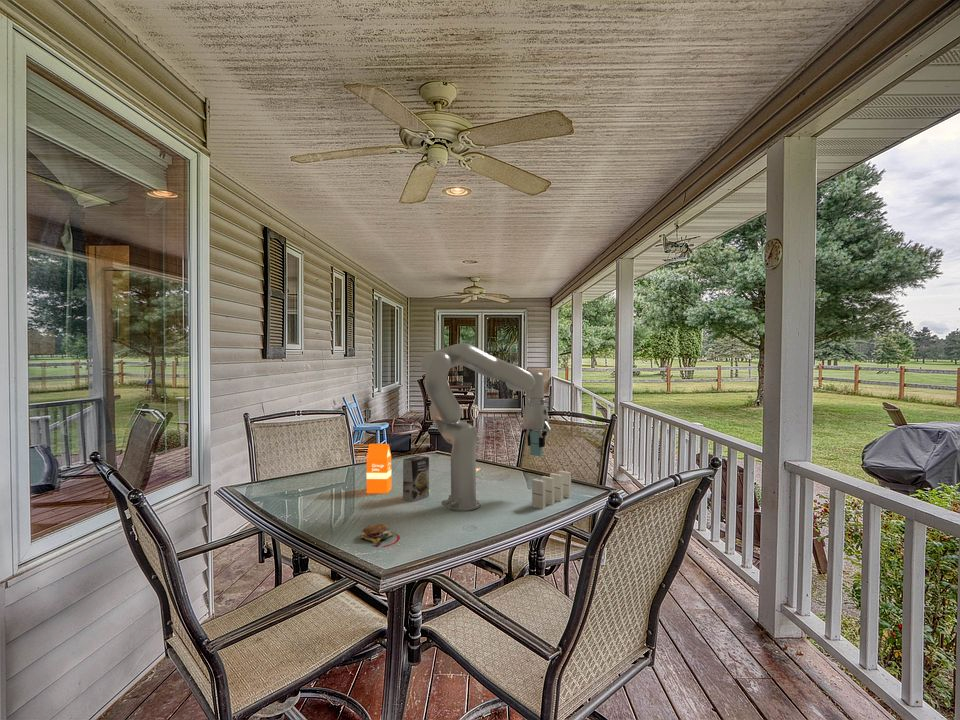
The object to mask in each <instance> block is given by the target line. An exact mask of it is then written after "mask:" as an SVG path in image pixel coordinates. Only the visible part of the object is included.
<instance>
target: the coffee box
mask: <svg viewBox="0 0 960 720" xmlns="http://www.w3.org/2000/svg"><path fill="white" fill-rule="evenodd" d="M428 496H429V497H430V457H429V456H421V455H416V456H411V457H408V458H403V460H402V499H403V500H406V501H409V502H415V501H416V500H417V501H419V499H420V500H422V498H423V499H425V497H426V498H428Z"/></svg>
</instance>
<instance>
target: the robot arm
mask: <svg viewBox="0 0 960 720" xmlns="http://www.w3.org/2000/svg"><path fill="white" fill-rule="evenodd" d="M420 366H421V369H422V371H424V372H425V376H424V388H425V392H426V394H427V396H428V398H429V400H430V402H431V403H430V405H429V414H430V417H431V419H432V421H433V423H434V424H435V427H436V428H437V430H438V431H439V434H440V435H441V437H443V439H444V440H445V442H446V443H448V444H450V445H452V448H451V453H450V495H449V494H448V498H447V499H444V500H442V501H441V506H443V507H444V506H446V507H447V508H448V509H450V510H453V511H460V512H466V511H467V512H468V511H473V510H477V509H479V508H480V506H481V502H480V500H478V499H477V481H476V480H477V473H476V470H477V467H476V466H477V465H476V462H477V461H476V457H477V454H476V453H477V448H478V447H477V446H478V437H479V435H478V432H477V429H476V427H474V426H473V424H470V423H468V422H464V421H461V418H462V415H463V412H462V411H463V410H462V407H461V405H460V404H459V402H458V400H457V398H456V396H455V395H454V393H453V391H452V388H451V387H450V385H449V382H448V377H449V372H450V370H451V369H452V368H454V367H457V366H463V367H465V368H467V369H469V370H472V371H474V372H476V373H478V374H480V375H482V376H483V377H486V378H489V379H492V380H498V381H502V382H504V383H505V386H506V387H507V388H508V389H509V390H511V391H514V392H515V391H517V392H524V393H525V405H524V408H523V422H522V424H521V425H520V429H521V430H522V431H523V432H524V434H525V435H526V437H527V439H526V440H527V446H528V447H530V431H531V430H533V431H539V435H540V438H539V447H540V448H541V447H542V448H545V446H546V437H547V435H548V434H549V433H550V432H551V431H552V428H551V426H550V420H549V413H548V408H547V405H545V404H546V403H547V399H545V389H544V387H545V386H544V374H543V373H542V372H539V371H531V372H529V371H527V370H525V369H524V368H521V367H520V366H518V365H515V364H513V363H510V362H507V361H506V360H502V359H501V358H499V357H498V358H497V357H496V356H493V355H492V354H489V353H487V352H486V351H485V350H482V349H480V348H478V347H476V346H475V345H473V344H471V343H467V342H464V343H463V342H461V343H456V344H452V345H449V346H447V347H444V348H440V349H437V350H434V351H431V352H427V353H426V354H424V355H423V357H422V359H421V362H420Z"/></svg>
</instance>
